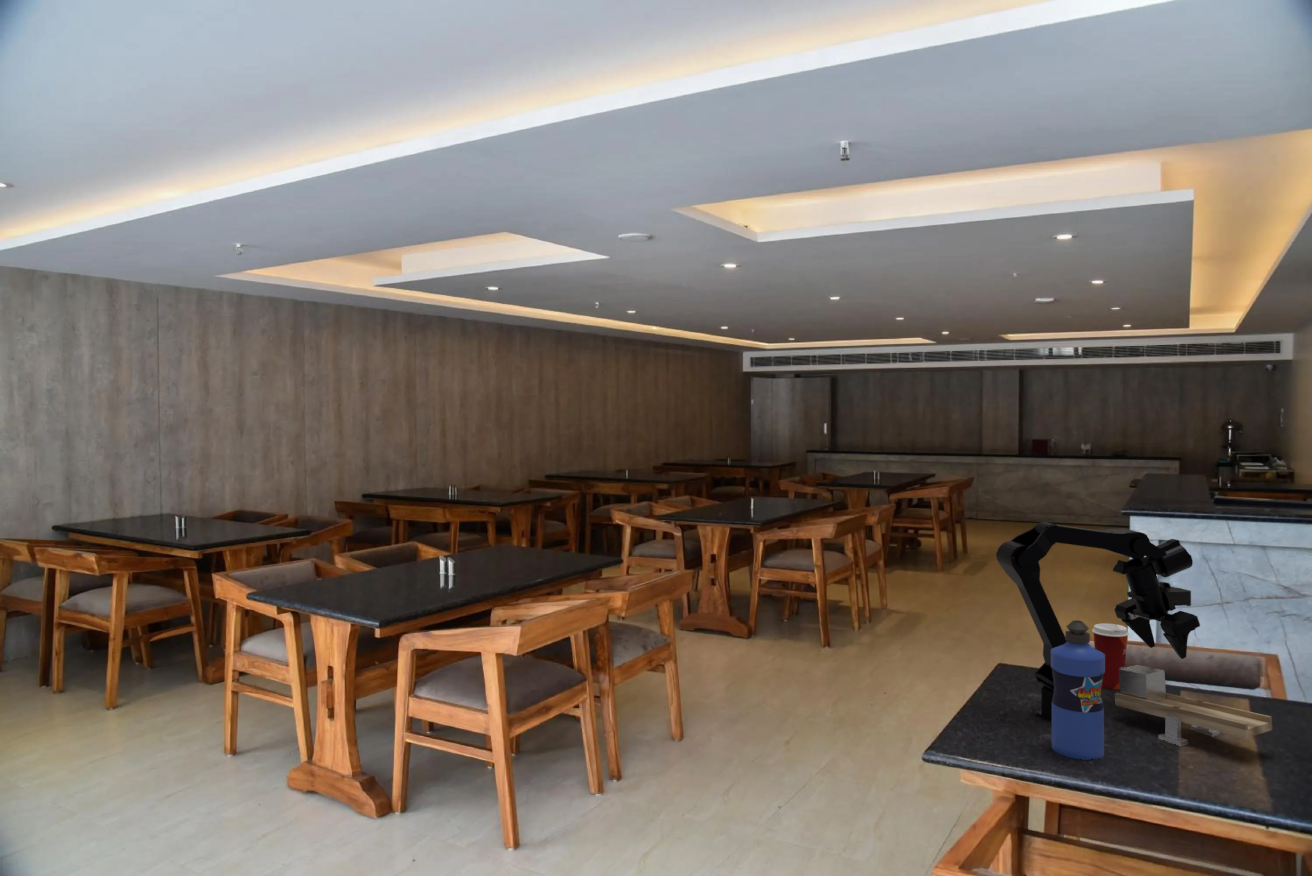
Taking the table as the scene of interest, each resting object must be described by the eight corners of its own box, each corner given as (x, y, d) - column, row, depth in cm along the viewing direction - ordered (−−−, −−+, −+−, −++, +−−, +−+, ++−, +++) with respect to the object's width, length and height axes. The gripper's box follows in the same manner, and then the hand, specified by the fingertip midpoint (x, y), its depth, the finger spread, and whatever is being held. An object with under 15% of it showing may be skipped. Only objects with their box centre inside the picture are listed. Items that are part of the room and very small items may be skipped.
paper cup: (1135, 690, 200) (1135, 630, 199) (1101, 691, 200) (1101, 631, 200) (1118, 680, 208) (1118, 622, 207) (1085, 680, 208) (1085, 622, 207)
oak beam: (1245, 742, 158) (1244, 723, 159) (1115, 709, 182) (1114, 692, 182) (1272, 734, 162) (1271, 715, 162) (1141, 702, 185) (1140, 686, 186)
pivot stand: (1180, 746, 167) (1180, 721, 167) (1158, 739, 171) (1158, 714, 171) (1219, 734, 173) (1219, 710, 173) (1197, 727, 177) (1197, 703, 177)
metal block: (1147, 704, 177) (1145, 674, 177) (1120, 697, 182) (1118, 669, 182) (1166, 699, 179) (1164, 670, 179) (1138, 693, 185) (1137, 664, 185)
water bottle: (1116, 758, 163) (1116, 626, 162) (1070, 762, 161) (1070, 629, 160) (1083, 739, 172) (1083, 614, 171) (1040, 743, 170) (1040, 617, 169)
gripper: (1210, 578, 177) (1234, 648, 178) (1146, 564, 195) (1168, 628, 196) (1163, 599, 175) (1188, 670, 176) (1103, 583, 194) (1125, 647, 195)
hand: (1167, 652), depth 186 cm, fingers open, 9 cm apart
